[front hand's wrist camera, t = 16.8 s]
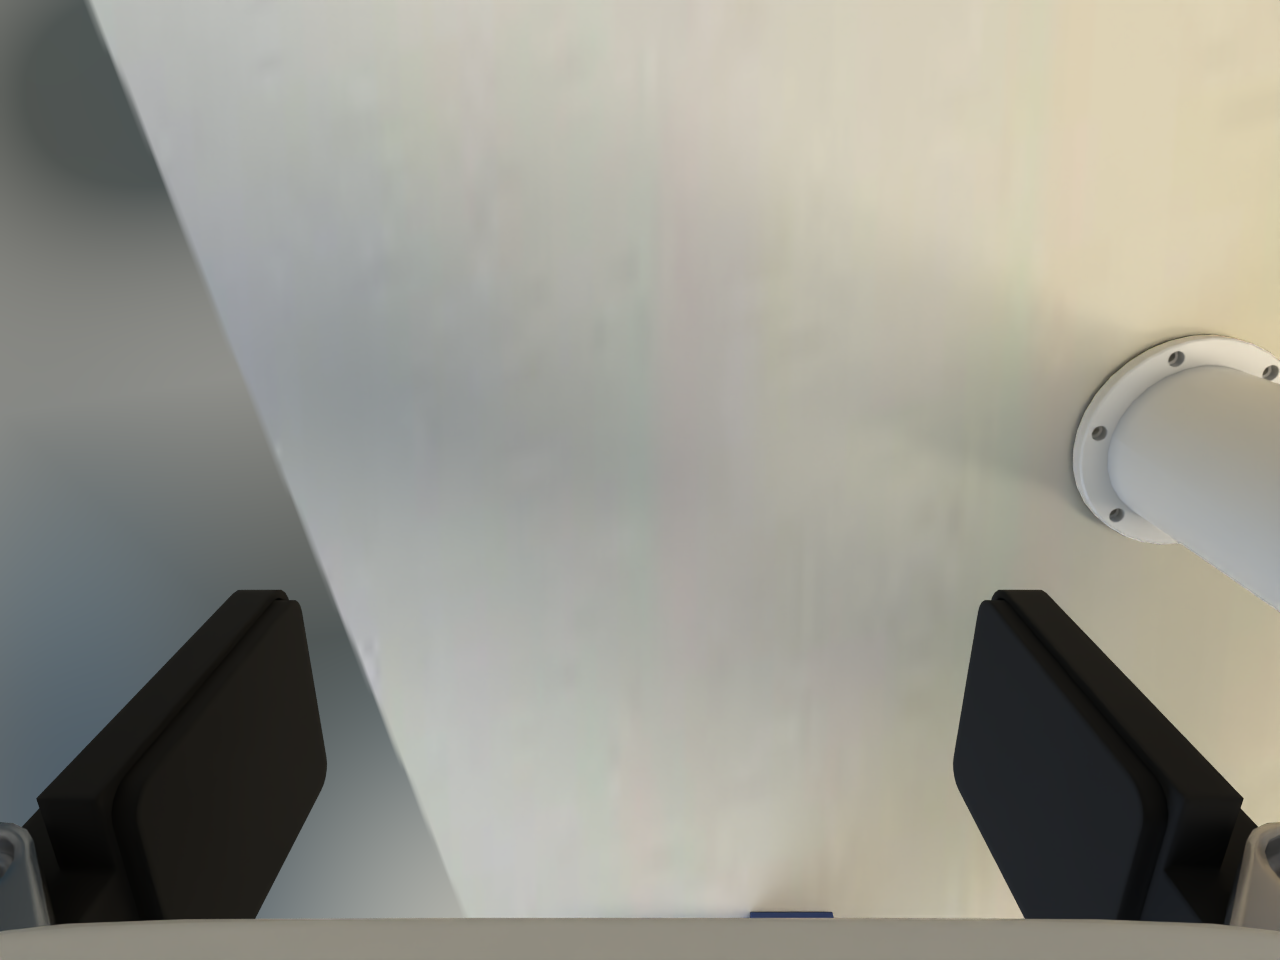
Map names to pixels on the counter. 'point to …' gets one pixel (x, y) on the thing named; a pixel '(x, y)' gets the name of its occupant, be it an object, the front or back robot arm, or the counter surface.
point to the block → (791, 915)
